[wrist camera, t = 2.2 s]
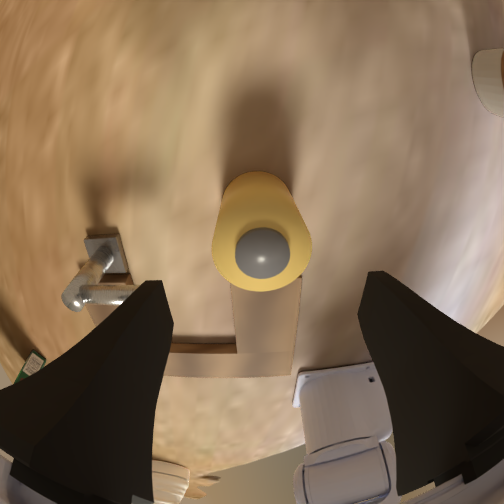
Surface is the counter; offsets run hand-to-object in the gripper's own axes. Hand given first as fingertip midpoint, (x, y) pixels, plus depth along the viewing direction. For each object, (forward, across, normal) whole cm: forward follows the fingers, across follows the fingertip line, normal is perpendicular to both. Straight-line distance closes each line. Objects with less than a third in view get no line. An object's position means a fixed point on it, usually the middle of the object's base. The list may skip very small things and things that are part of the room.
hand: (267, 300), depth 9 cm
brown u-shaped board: (+9, +6, +11) cm, 16 cm away
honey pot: (+10, +25, +68) cm, 73 cm away
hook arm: (+9, +10, +3) cm, 14 cm away
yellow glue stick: (+9, 0, 0) cm, 9 cm away
